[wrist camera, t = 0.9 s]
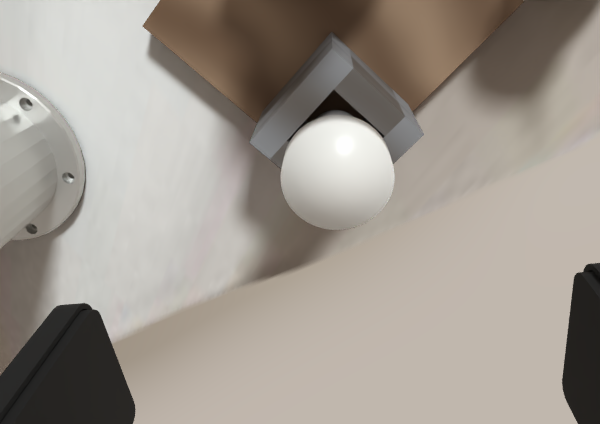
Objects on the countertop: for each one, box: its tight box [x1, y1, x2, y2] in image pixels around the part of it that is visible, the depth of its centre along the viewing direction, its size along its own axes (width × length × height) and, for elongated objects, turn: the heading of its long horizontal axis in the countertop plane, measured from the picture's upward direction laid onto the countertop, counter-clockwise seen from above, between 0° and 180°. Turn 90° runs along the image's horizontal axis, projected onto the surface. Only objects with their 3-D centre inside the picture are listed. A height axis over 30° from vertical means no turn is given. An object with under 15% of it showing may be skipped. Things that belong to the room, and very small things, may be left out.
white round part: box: [281, 110, 395, 230], centre depth 24 cm, size 5×5×6 cm
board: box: [143, 0, 524, 169], centre depth 28 cm, size 16×16×8 cm
